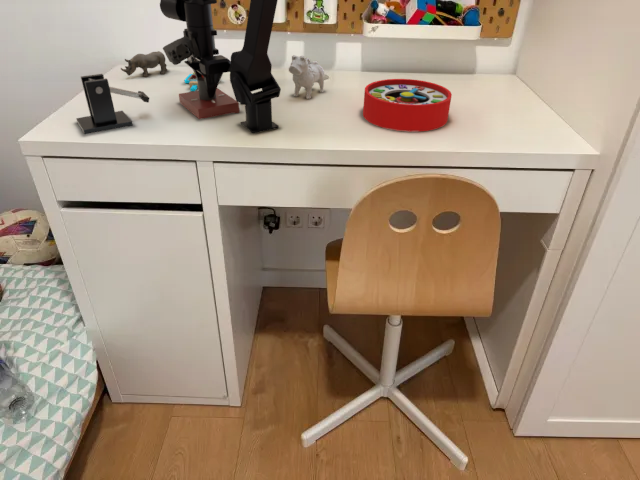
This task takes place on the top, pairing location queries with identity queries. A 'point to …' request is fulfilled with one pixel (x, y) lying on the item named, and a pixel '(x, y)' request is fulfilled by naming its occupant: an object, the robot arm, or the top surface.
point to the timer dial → (203, 89)
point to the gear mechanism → (192, 82)
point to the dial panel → (209, 104)
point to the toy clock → (406, 105)
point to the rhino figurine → (146, 63)
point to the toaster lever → (128, 93)
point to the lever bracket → (100, 107)
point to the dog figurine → (306, 74)
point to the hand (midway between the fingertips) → (207, 94)
